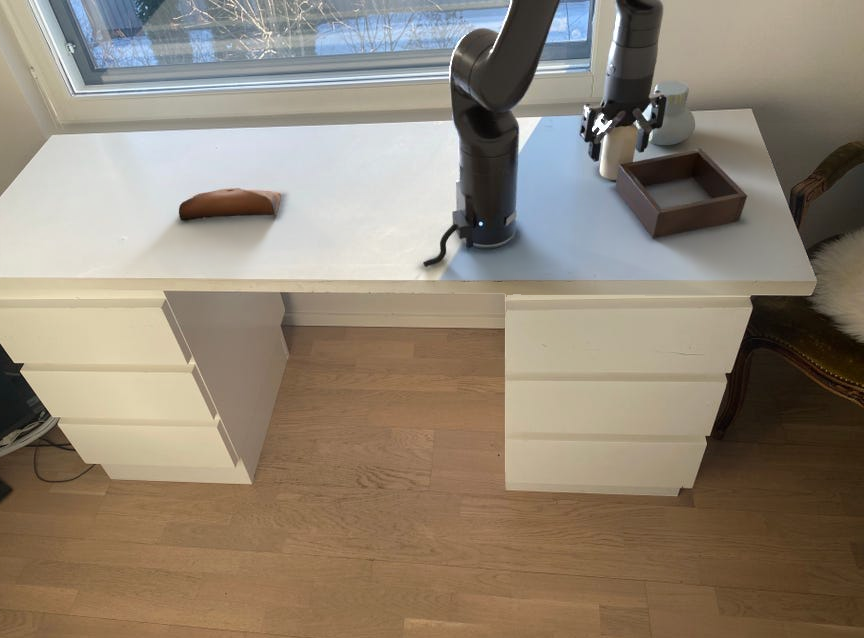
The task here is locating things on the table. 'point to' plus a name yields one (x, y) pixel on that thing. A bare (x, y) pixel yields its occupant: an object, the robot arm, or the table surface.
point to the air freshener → (672, 115)
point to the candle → (618, 150)
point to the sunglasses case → (230, 204)
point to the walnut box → (687, 216)
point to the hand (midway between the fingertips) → (616, 154)
